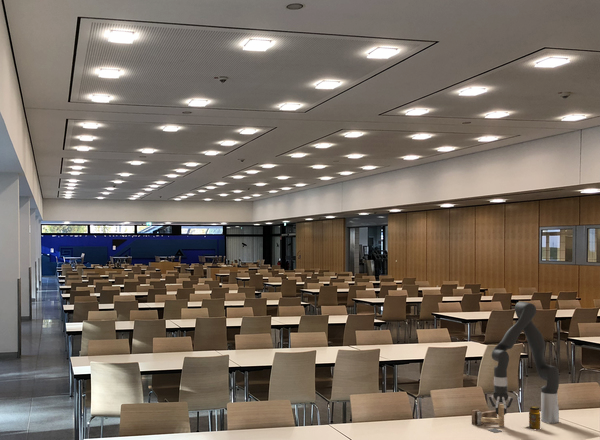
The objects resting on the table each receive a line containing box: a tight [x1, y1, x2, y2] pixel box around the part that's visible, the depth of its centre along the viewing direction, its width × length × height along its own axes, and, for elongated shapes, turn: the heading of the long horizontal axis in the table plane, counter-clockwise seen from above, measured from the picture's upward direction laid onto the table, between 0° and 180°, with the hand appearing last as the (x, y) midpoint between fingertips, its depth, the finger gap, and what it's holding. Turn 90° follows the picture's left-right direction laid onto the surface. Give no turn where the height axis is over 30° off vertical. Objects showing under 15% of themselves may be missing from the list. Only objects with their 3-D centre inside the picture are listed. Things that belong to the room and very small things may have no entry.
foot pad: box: [487, 428, 503, 434], centre depth 356 cm, size 6×6×1 cm
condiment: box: [523, 405, 544, 431], centre depth 363 cm, size 7×8×12 cm
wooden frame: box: [477, 403, 505, 427], centre depth 366 cm, size 15×3×12 cm, turn 80°
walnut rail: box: [471, 409, 498, 426], centre depth 373 cm, size 18×2×8 cm, turn 118°
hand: (501, 414), depth 365 cm, fingers closed on wooden frame, 3 cm apart
